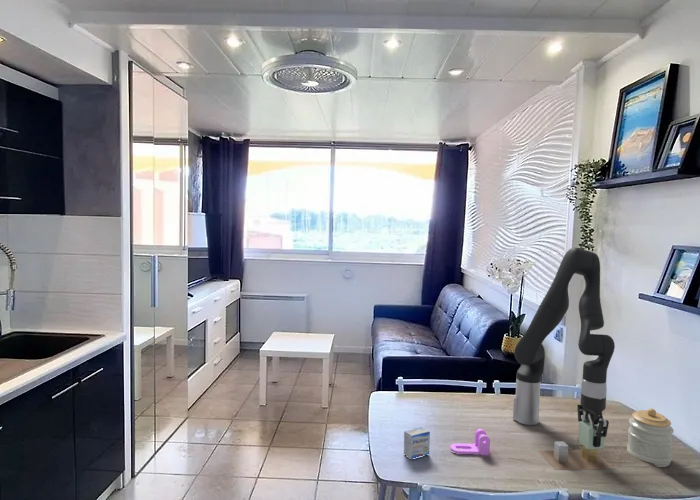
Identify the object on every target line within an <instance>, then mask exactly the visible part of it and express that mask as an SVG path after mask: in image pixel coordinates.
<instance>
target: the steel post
mask: <svg viewBox="0 0 700 500" xmlns="http://www.w3.org/2000/svg"><path fill="white" fill-rule="evenodd" d="M553 444H554V445H553V450H554V458H555V459H556V460H557V461H558V462H568V450H569V449H570V447H569V445H568V444H567V443H566V442H565V441H560V440H559V441H554V443H553Z"/></svg>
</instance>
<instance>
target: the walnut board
mask: <svg viewBox="0 0 700 500" xmlns="http://www.w3.org/2000/svg"><path fill="white" fill-rule="evenodd" d="M537 452H538V453H539V454H540V455H541V456H542V457H543V458H544V459H545V461H547V462H548V464H549V465H550V466H551V467H552V469H554V471H564V470H565V471H567V470H570V471H571V470H573V471H574V470H606V469H607V470H609V469H613V470H614V469H615V468H614V466H612V465H611V464H610V463H609V462H608V461H607V460H605V459H604V457H602V456H601V455H600V454H598V453H597V460H596V461H593V462H587V461H586V460H585V459H584V458H583V457H582V449H568V462H558V461H557V460H556V459H555V458H554V449H553V450H537Z"/></svg>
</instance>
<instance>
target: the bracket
mask: <svg viewBox="0 0 700 500" xmlns="http://www.w3.org/2000/svg"><path fill="white" fill-rule="evenodd" d="M458 448H462V449H458ZM450 449H451V451H453V452H455V453H458V454H477V455H476V456H479V455H478V454H481V455H480V456H490V455H491V454H490V452H491V451H490V449H491V439H490V437H489V435H487V432H486V431H485V430H484V428H478V429H476V430H475V432H474V443H465V442H464V443H462V442H461V443H460V442H459V443H458V442H456V443H452V444H451V445H450V446H449V450H450ZM451 451H450V452H451Z"/></svg>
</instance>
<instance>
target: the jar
mask: <svg viewBox="0 0 700 500" xmlns="http://www.w3.org/2000/svg"><path fill="white" fill-rule="evenodd" d="M631 416H632V417H630V418H629V419H628V422H629V424H630V425H629V426H630V427H629V428H628V429H627V432H628V435H627V436H628V438H627V439H628V440H627V445H626V450H627V452H628V453H629V454H630V455H631V456H632V457H634V458H637V459H638V460H640V461H643V462H646V463H651V464H652V465H654V466H655V467H657V468H666V467H669V466H670V465H671V463H672V449H673V441H674V439H673V437H672V434H673V433H674V432H675V431H674V428H673V427H672V426H671V425H672V422H671V420H670V419H669V418H667V417H666V416H665V415H664V414H662V413H660V412H657V411H656V410H655V409H654V408H651V407H650V408H648V409H647V410H644V409H642V410H637V411H634V412H633V413H632V415H631Z"/></svg>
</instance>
